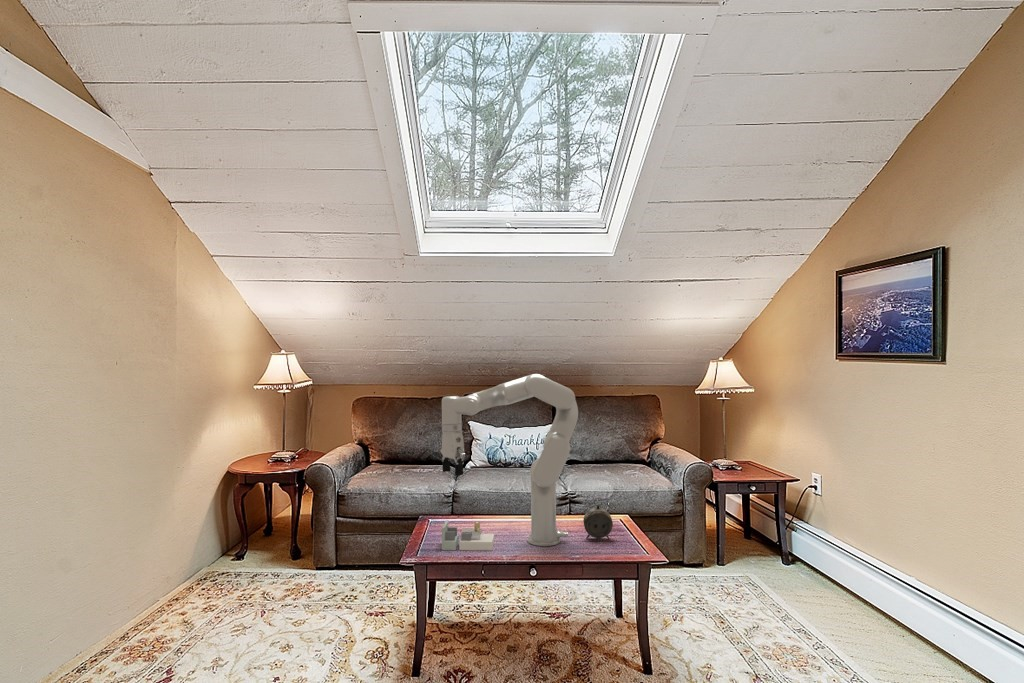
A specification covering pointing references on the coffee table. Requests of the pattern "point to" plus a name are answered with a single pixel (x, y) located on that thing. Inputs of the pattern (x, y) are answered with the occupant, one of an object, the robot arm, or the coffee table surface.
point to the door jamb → (449, 537)
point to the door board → (476, 542)
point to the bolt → (474, 531)
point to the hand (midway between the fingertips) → (452, 473)
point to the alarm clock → (598, 522)
